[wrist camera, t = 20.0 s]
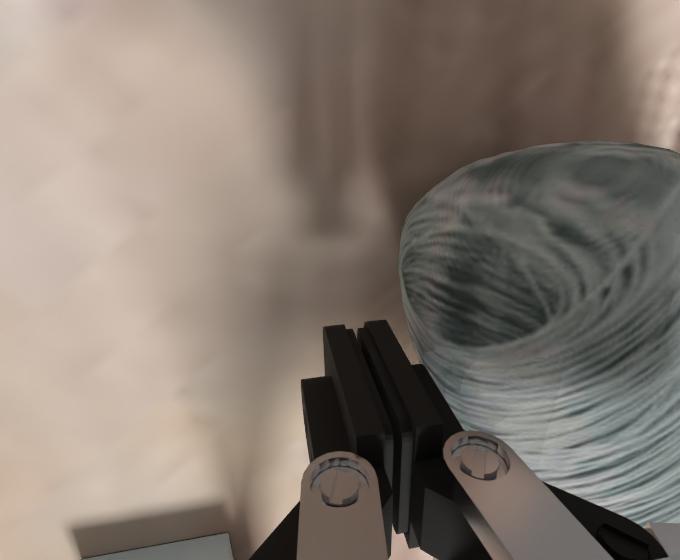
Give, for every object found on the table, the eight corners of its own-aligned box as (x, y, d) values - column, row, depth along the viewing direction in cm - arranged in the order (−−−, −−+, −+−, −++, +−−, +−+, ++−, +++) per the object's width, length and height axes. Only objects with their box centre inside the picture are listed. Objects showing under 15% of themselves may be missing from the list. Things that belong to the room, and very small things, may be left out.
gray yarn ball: (275, 231, 10) (920, 549, 4) (499, 63, 14) (1037, 72, 7) (390, 473, 19) (644, 697, 13) (510, 332, 23) (758, 449, 16)
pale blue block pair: (-283, -294, 8) (-438, -403, 6) (69, -264, 9) (22, -352, 7) (99, 602, 19) (83, 655, 18) (236, 575, 20) (235, 623, 18)
